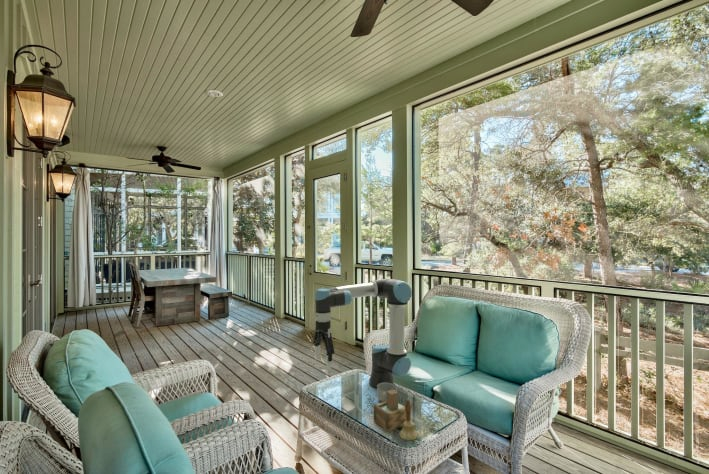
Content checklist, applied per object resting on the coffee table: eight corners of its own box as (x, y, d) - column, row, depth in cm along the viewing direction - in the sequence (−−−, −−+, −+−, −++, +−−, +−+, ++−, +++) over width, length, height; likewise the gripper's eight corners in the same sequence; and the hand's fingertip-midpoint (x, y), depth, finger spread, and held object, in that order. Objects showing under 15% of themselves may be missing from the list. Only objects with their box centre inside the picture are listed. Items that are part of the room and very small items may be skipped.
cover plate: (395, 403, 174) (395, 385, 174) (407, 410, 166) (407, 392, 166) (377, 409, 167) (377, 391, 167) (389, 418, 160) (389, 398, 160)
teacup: (381, 394, 195) (381, 380, 195) (399, 398, 190) (399, 384, 190) (371, 405, 183) (371, 390, 183) (390, 410, 178) (390, 394, 178)
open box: (395, 412, 175) (395, 397, 175) (410, 422, 166) (410, 406, 166) (373, 421, 167) (373, 405, 167) (388, 431, 158) (388, 415, 158)
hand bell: (411, 442, 150) (411, 406, 150) (395, 435, 155) (395, 400, 155) (421, 434, 156) (421, 399, 156) (405, 427, 162) (405, 394, 161)
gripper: (306, 316, 179) (307, 356, 179) (326, 327, 157) (327, 373, 157) (319, 314, 182) (320, 353, 183) (341, 325, 161) (341, 369, 161)
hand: (323, 362), depth 170 cm, fingers open, 13 cm apart
